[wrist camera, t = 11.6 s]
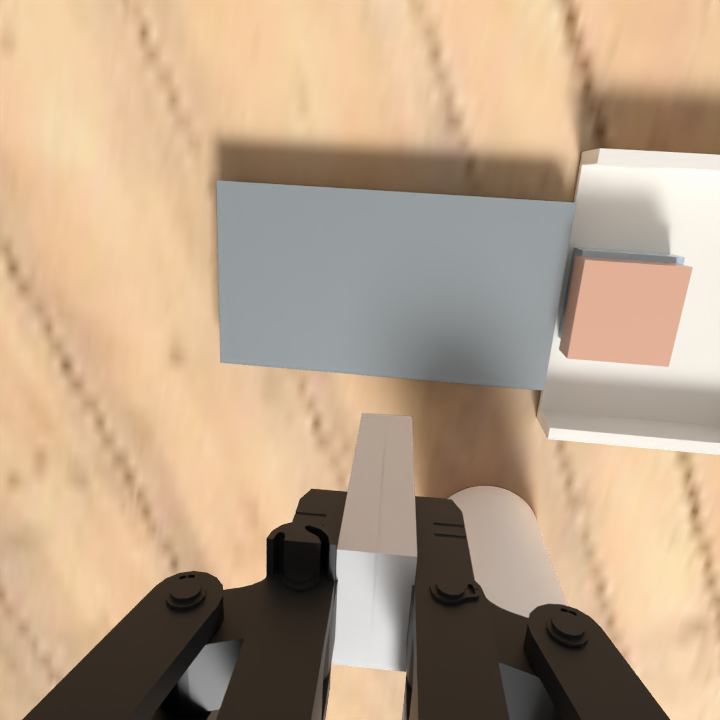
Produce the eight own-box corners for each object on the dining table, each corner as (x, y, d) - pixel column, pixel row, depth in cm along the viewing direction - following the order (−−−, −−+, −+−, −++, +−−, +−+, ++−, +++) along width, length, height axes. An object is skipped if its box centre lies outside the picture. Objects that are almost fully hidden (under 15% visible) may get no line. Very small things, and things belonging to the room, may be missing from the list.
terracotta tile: (558, 349, 35) (567, 358, 33) (575, 255, 34) (585, 259, 32) (654, 357, 35) (668, 366, 33) (676, 262, 33) (692, 267, 31)
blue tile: (558, 336, 37) (566, 344, 35) (574, 247, 35) (583, 250, 33) (649, 343, 37) (662, 352, 35) (670, 253, 35) (684, 257, 33)
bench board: (231, 352, 40) (220, 362, 38) (229, 180, 37) (216, 180, 34) (535, 378, 39) (543, 390, 36) (565, 201, 35) (576, 202, 33)
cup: (462, 468, 41) (489, 632, 26) (558, 513, 42) (640, 700, 27) (413, 549, 44) (412, 741, 29) (504, 591, 44) (551, 802, 29)
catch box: (536, 417, 40) (547, 439, 36) (581, 151, 34) (600, 148, 31) (738, 435, 39) (769, 459, 35) (819, 165, 33) (864, 162, 30)
